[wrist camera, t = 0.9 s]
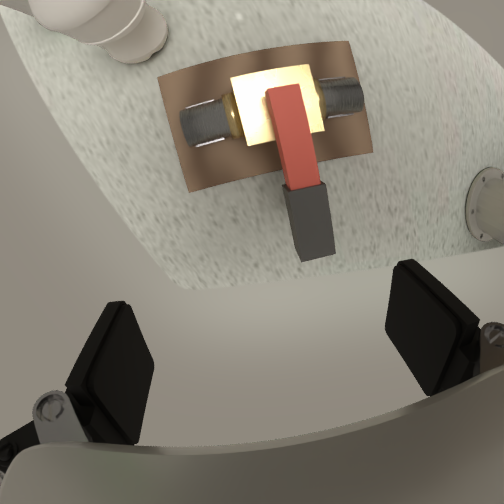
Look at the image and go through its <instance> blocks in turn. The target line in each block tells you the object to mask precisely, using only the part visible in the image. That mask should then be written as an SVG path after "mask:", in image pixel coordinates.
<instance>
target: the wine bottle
mask: <svg viewBox="0 0 504 504" xmlns="http://www.w3.org/2000/svg"><path fill="white" fill-rule="evenodd" d="M0 5H3V6H6V7H9V8H12V9H15V10H18V11H20V12H23V13H26V14H28V15H31V16H33V17H34V15H33V13H32V11H31V8H30V5H29V2H28V0H0Z"/></svg>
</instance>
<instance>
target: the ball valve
mask: <svg viewBox="0 0 504 504" xmlns="http://www.w3.org/2000/svg"><path fill="white" fill-rule="evenodd" d="M230 79H231V87H232V91H233V92H230V93H226V94H222V95H221V97H222V99H218V100H210V101H206V102H203V103H199V104H196V105H192V106H189V107H186V109H183V110H180V112H179V117H180V123H181V127H182V131H183V134H184V137H185V139H186V142H187V144H188V145H189V147H192V146H196V147H199V146H202V145H206V144H209V143H213V142H217V141H220V140H224V139H225V137H229V136H232V139H236V138H241V137H244V138H245V142H246V144H247V145H248V146H250V145H255V144H259V143H263V142H268V141H273V140H276V138H275V134H274V129H273V125H272V121H271V117H270V113H269V109H268V105H267V101H266V97H265V93H264V92H265V91H266V90H267V89H268V88H273V87H279V86H284V85H290V84H297V83H299V85H300V88H301V92H302V97H303V101H304V105H305V109H306V113H307V118H308V122H309V127H310V131H311V133H314V132H320V131H325V130H324V125H323V121H324V120H325V118H333V117H340V116H348V115H354V113H358V112H361V111H362V110H363V107H364V95H363V91H362V88H361V85H360V83H359V82H358V80H357V79H356V78H354V77H346V78H345V77H334V78H325V79H318V80H317V79H316V78H315V77H312V75H311V71H310V67H309V64H305V65H297V66H290V67H283V68H277V69H271V70H266V71H260V72H255V73H250V74H246V75H241V76H237V77H232V78H230Z"/></svg>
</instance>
